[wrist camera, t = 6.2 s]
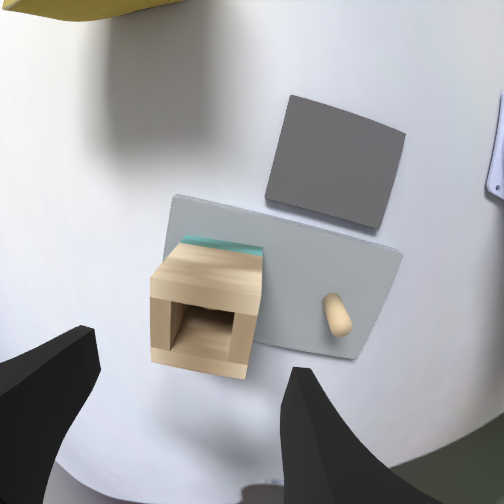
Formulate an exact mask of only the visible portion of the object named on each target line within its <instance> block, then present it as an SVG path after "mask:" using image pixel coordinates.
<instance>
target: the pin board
mask: <svg viewBox="0 0 504 504" xmlns="http://www.w3.org/2000/svg"><path fill="white" fill-rule="evenodd" d="M186 235H190V236H196V237H202V238H209V239H215V240H221V241H228V242H234V243H240V244H246V245H253V246H259V247H263V258H262V291H261V300H260V306H259V311H258V316H257V321H256V326H255V332H254V337H253V341H255V342H259V343H264V344H269V345H274V346H279V347H284V348H290V349H295V350H301V351H306V352H312V353H318V354H324V355H330V356H337V357H343V358H350V359H357V358H358V356H359V354H360V353H361V351H362V349H363V347H364V345H365V343H366V340H367V338H368V336H369V334H370V332H371V330H372V328H373V326H374V324H375V322H376V319H377V317H378V315H379V313H380V311H381V308H382V306H383V304H384V301H385V299H386V297H387V294H388V292H389V290H390V287H391V285H392V282H393V280H394V277H395V275H396V272H397V270H398V267H399V265H400V262H401V259H402V257H403V254H401V253H400V252H399V251H398V250H396V249H393V248H389V247H386V246H382V245H379V244H375V243H372V242H368V241H365V240H361V239H358V238H354V237H350V236H347V235H343V234H339V233H336V232H332V231H328V230H324V229H321V228H317V227H313V226H309V225H305V224H302V223H298V222H294V221H290V220H286V219H282V218H278V217H274V216H270V215H266V214H262V213H258V212H254V211H249V210H245V209H241V208H237V207H233V206H228V205H224V204H220V203H215V202H211V201H207V200H202V199H198V198H193V197H189V196H184V195H179V194H177V195H175V196H173V198H172V204H171V210H170V216H169V222H168V228H167V235H166V241H165V248H164V255H163V261H164V260H165V259H166V258H167V257H168V256H169V254H170V253H171V252H172V251H173V250H174V249H175V247H176V246H177V245H178V244H179V243H180V242H181V240H182V239H183V238H184V237H185V236H186ZM204 308H205V309H208V310H216V309H212V308H206V307H204Z"/></svg>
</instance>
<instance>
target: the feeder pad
mask: <svg viewBox="0 0 504 504" xmlns="http://www.w3.org/2000/svg"><path fill="white" fill-rule="evenodd" d="M405 136H406V134H405V133H403V132H401V131H398V130H396V129H393V128H391V127H388V126H386V125H383V124H381V123H378V122H375V121H373V120H370V119H367V118H365V117H362V116H359V115H356V114H353V113H350V112H347V111H344V110H341V109H338V108H335V107H332V106H329V105H326V104H322V103H319V102H316V101H312V100H309V99H305V98H302V97H298V96H294V95H290V98H289V102H288V106H287V110H286V114H285V118H284V122H283V126H282V130H281V134H280V138H279V142H278V146H277V150H276V154H275V158H274V162H273V166H272V170H271V174H270V178H269V182H268V186H267V190H266V193H265V198H266V199H270V200H274V201H278V202H282V203H286V204H289V205H293V206H297V207H301V208H305V209H309V210H312V211H316V212H320V213H323V214H327V215H331V216H334V217H338V218H341V219H345V220H348V221H352V222H355V223H359V224H362V225H365V226H369V227H372V228H376V229H379V228H380V225H381V222H382V218H383V215H384V212H385V209H386V206H387V202H388V199H389V196H390V192H391V189H392V185H393V182H394V178H395V175H396V171H397V167H398V164H399V160H400V156H401V152H402V148H403V144H404V140H405Z"/></svg>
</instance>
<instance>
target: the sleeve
mask: <svg viewBox="0 0 504 504" xmlns="http://www.w3.org/2000/svg"><path fill="white" fill-rule="evenodd" d="M262 258H263V247H259V246H253V245H246V244H240V243H234V242H228V241H221V240H215V239H209V238H202V237H196V236H190V235H186V236H185V237H184V238H183V239H182V240H181V242H180V243H179V244H178V245H177V246H176V247H175V249H174V250H173V251H172V252H171V253H170V254H169V256H168V257H167V258H166V259H165V260H164V261H163V263H162V264H161V265H160V266H159V267H158V268H157V270H156V271H155V272H154V273H153V274H152V276H151V277H150V337H151V362H155V363H159V364H163V365H168V366H172V367H177V368H182V369H187V370H192V371H197V372H202V373H208V374H213V375H219V376H225V377H231V378H238V379H245V377H246V372H247V367H248V362H249V357H250V352H251V347H252V342H253V337H254V332H255V326H256V321H257V316H258V311H259V306H260V300H261V291H262ZM204 307H206V308H212V309H216V310H208V309H205V308H204Z"/></svg>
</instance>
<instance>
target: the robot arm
mask: <svg viewBox="0 0 504 504" xmlns="http://www.w3.org/2000/svg"><path fill="white" fill-rule="evenodd" d="M496 186H497V190H496ZM486 187H487V190H488V191H489V192H490V193H492V194H494V195H496V196H497V197H499V198H501V199H503V200H504V91H503V92H502V98H501V108H500V116H499V123H498V129H497V136H496V141H495V147H494V152H493V157H492V162H491V166H490V171H489V175H488V179H487V184H486ZM100 371H101V367H100V362H99V356H98V350H97V344H96V337H95V330H94V329H93V328H89V327H86V326H83V325H80V326H78V327H75V328H73V329H71V330H69V331H67V332H65V333H63V334H61V335H59V336H58V337H56V338H54V339H52V340H50V341H48V342H46V343H44V344H42V345H40V346H38V347H36V348H34V349H32V350H30V351H28V352H25V353H23V354H21V355H19V356H17V357H15V358H12V359H10V360H7V361H5V362H2V363H0V504H43V498H44V494H45V490H46V486H47V483H48V479H49V475H50V472H51V469H52V467H53V464H54V461H55V458H56V456H57V453H58V451H59V448H60V446H61V443H62V441H63V439H64V437H65V435H66V433H67V431H68V430H69V428H70V426H71V425H72V423H73V421H74V420H75V418H76V416H77V415H78V413H79V411H80V410H81V408H82V407H83V405H84V403H85V402H86V400H87V398H88V397H89V395H90V393H91V392H92V390H93V387H94V385H95V383H96V381H97V378H98V376H99V374H100ZM280 438H281V450H282V461H283V472H284V488H285V494H284V496H285V497H284V504H443V503H442V502H440V501H438V500H436V499H434V498H432V497H430V496H428V495H426V494H425V493H423V492H421V491H419V490H418V489H416V488H415V487H413V486H412V485H410V484H408V483H407V482H406V481H404V480H403V479H401V478H400V477H399V476H397V475H396V474H395V473H393V472H392V471H391V470H390V469H389V468H387V467H386V466H385V465H384V464H383V463H381V462H380V461H379V460H378V459H377V458H376V457H375V456H374V455H373V454H372V453H371V452H370V451H369V450H368V449H367V448H366V447H365V446H364V445H363V444H362V443H361V442H360V441H359V439H358V438H357V437H356V436H355V435H354V433H353V432H352V431H351V430H350V428H349V427H348V426H347V424H346V423H345V422H344V420H343V419H342V418H341V416H340V415H339V413H338V412H337V411H336V409H335V408H334V406H333V405H332V403H331V402H330V400H329V398H328V397H327V395H326V394H325V392H324V390H323V389H322V387H321V385H320V384H319V382H318V380H317V378H316V377H315V375H314V373H313V371H312V370H311V369H310V368H301V367H293V368H292V372H291V375H290V378H289V382H288V385H287V388H286V391H285V394H284V397H283V401H282V404H281V413H280Z"/></svg>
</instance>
